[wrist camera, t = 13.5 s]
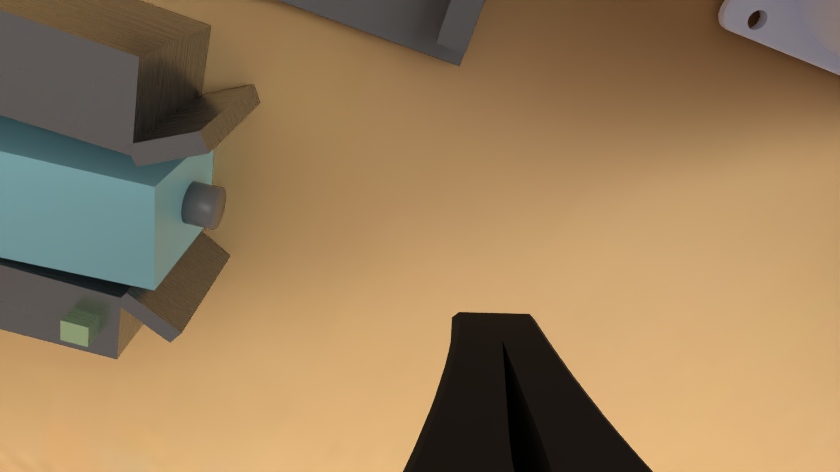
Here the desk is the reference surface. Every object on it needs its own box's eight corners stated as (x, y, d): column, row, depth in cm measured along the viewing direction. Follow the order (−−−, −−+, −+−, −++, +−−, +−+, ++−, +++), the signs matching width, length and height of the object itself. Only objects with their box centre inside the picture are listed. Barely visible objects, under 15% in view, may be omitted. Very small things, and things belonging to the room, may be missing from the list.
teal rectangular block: (242, 137, 18) (188, 194, 14) (234, 224, 20) (185, 296, 16) (32, 86, 18) (-84, 131, 14) (43, 180, 19) (-58, 245, 15)
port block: (270, 46, 17) (209, 90, 12) (223, 292, 21) (166, 387, 17) (-33, -61, 15) (-224, -55, 11) (-11, 226, 20) (-137, 310, 16)
